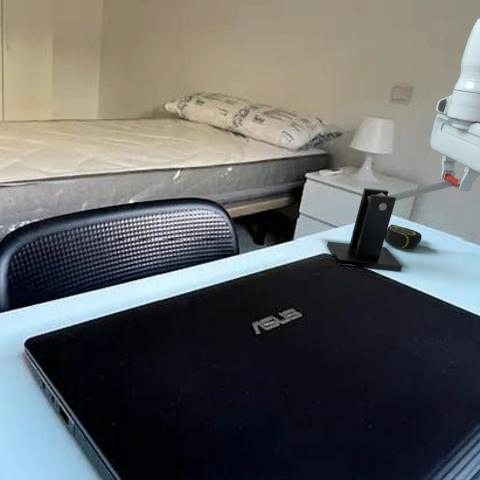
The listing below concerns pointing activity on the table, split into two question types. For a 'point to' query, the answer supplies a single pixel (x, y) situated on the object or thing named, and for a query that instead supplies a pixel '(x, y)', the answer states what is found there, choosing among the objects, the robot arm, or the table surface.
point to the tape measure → (402, 237)
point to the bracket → (369, 235)
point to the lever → (425, 189)
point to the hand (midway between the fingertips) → (454, 184)
